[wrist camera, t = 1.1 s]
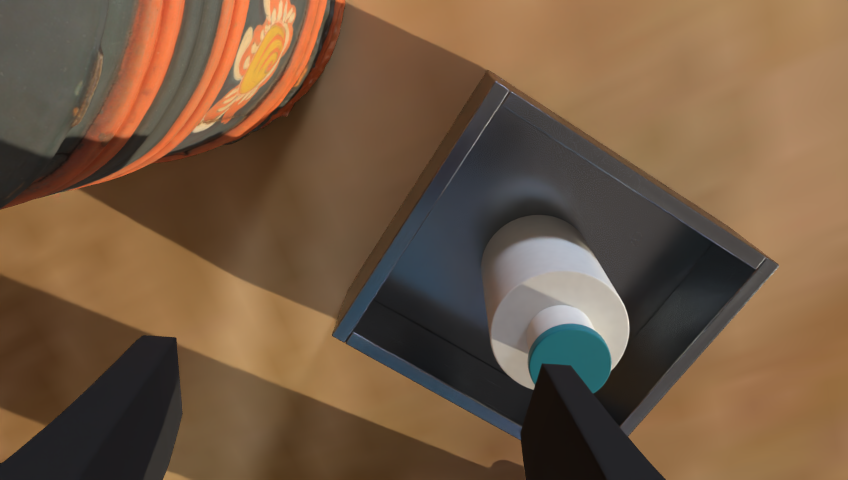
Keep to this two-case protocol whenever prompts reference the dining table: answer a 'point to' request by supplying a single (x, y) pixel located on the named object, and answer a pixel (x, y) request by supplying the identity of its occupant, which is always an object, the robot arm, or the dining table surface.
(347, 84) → the dining table surface
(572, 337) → the bottle
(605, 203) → the dark grey tray
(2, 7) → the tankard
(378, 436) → the dining table surface
